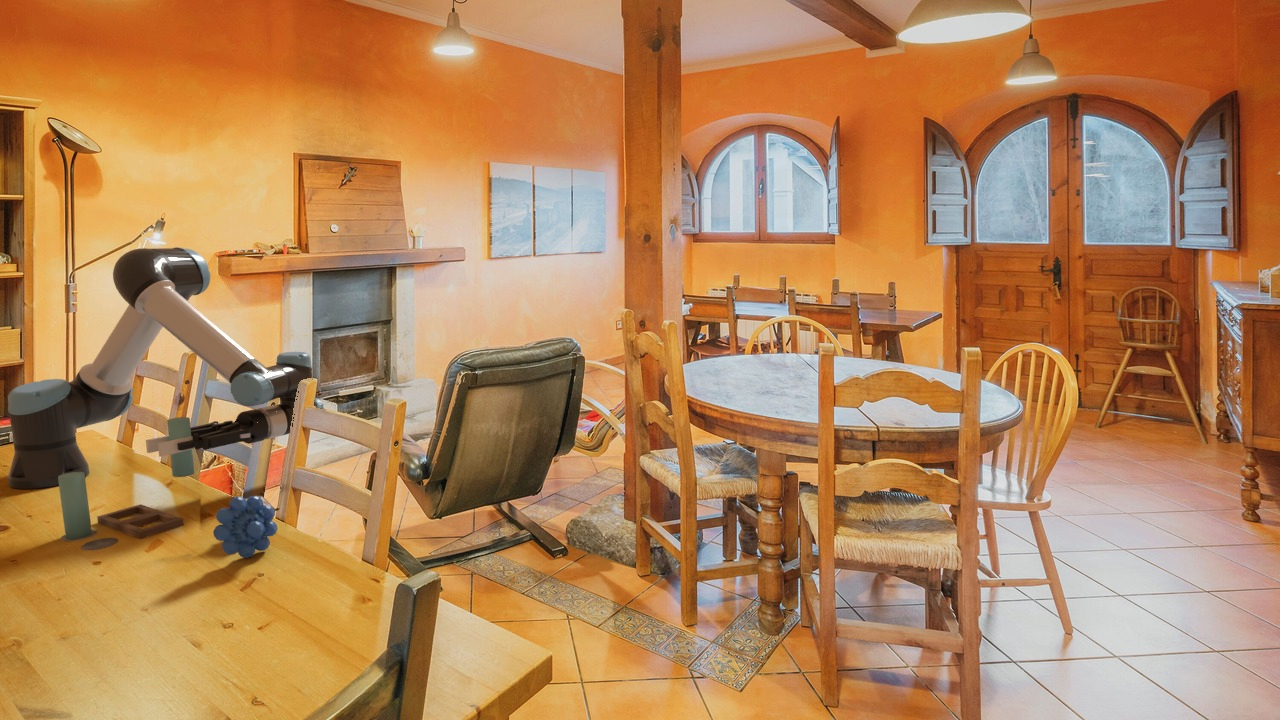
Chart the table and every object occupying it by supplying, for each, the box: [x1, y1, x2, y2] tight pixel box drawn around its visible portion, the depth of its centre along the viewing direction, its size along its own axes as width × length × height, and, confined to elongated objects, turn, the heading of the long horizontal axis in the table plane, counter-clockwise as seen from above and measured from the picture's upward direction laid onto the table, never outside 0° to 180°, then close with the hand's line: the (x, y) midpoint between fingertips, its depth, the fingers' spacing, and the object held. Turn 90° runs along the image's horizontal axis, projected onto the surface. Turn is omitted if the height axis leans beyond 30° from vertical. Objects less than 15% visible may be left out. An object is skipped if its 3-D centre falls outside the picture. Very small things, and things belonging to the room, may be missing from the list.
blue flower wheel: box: [213, 495, 278, 559], centre depth 133 cm, size 12×7×12 cm, turn 150°
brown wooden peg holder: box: [96, 503, 185, 540], centre depth 147 cm, size 16×8×2 cm, turn 60°
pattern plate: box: [60, 529, 119, 551], centre depth 140 cm, size 16×8×1 cm, turn 60°
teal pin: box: [166, 416, 195, 478], centre depth 156 cm, size 4×4×12 cm
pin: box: [58, 472, 93, 539], centre depth 140 cm, size 4×4×12 cm
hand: (153, 448), depth 151 cm, fingers closed on teal pin, 4 cm apart
